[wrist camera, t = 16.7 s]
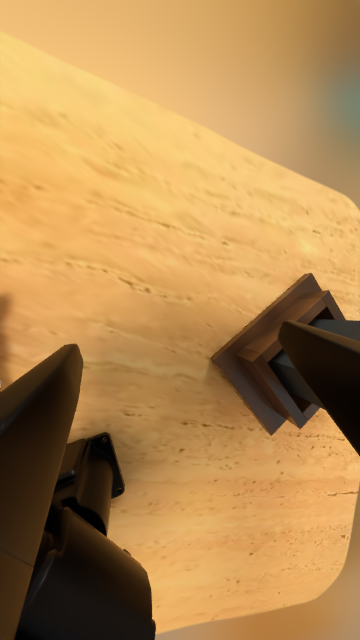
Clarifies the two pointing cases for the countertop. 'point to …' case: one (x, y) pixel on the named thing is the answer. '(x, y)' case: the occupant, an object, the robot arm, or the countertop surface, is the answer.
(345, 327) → the back pad
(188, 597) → the countertop surface
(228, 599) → the countertop surface
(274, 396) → the seat base
